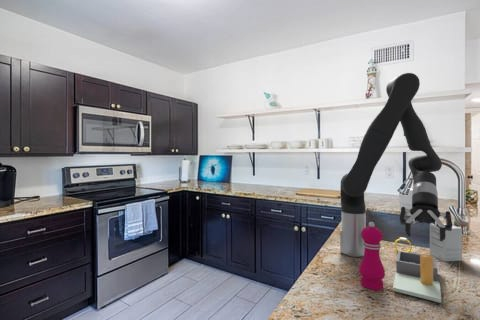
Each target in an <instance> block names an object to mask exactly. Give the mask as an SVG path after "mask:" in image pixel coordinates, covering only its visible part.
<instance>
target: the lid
mask: <svg viewBox="0 0 480 320" xmlns="http://www.w3.org/2000/svg"><path fill="white" fill-rule="evenodd" d="M420 254H421V253H420ZM433 257H434V256H432V255H430V254H426V253H425V254H424V253H422V254H421V255H420V278H418V277H414V276H409V275H405V274H400V273H396V272H395V276H394V280H393V283H392V285H393V286H392V291H393V292H397V293H400V294H405V295H409V296H412V297H416V298H420V299H424V300H428V301H432V302H436V303H439V304H442V293H441V291H442V290H441V285H440V284H441V283H440V281H438V280H437V281H433Z"/></svg>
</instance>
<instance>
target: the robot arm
mask: <svg viewBox="0 0 480 320" xmlns="http://www.w3.org/2000/svg"><path fill="white" fill-rule="evenodd" d="M420 83H421V82H420V78H419V77H418V75H416V74H415V73H413V72H405V73H402V74H400V75H397V76H395V77H394V78H392V79H391V80H389V81H388V83H387V85H386V89H385V90H386V95H387V97H388V99H387V101H386V102H385V105H384V106H383V108H382V109H381V110H380V112H379V113H378V114H377V115H376V116H375V118H374V119H373V120H372V121H371V123H370V125H369V126H368V128H367V130H366V131H365V134H364V136H363V138H362V140H361V143H360V147H359V150H358V152H357V153H358V154H357V158H356V159H355V162H354V164H353V165H352V167H351V169H350V170H349V172H348V173H346V174H344V175H343V176H342V178H341V180H340V205H341V206H340V207H341V211H340V212H341V217H340V219H341V228H340V229H339V239H340V240H339V241H340V242H339V243H340V244H339V245H340V246H339V247H340V248H339V249H340V250H339V252H340V254H343V255H345V256H349V257H353V258H357V257H358V258H363V257H364V251H365V249H364V246H363V241H364V240H363V239H362V237H361V232H362V230H363V228H365V227H367V225H366V224H367V219H366V218H367V216H366V213H367V212H366V211H367V210H366V209H367V208H366V207H367V206H366V201H365V192H366V190H367V188H368V186H369V183H370V180H371V177H372V175H373V173H374V170H375V169H376V166H377V165H378V163H379V161H380V159H381V158H382V156H383V155H384V154H385V153H384V152H386V149H387V148H388V145H389V144H390V142H391V140H392V138H393V136H394V133H395V132H396V130H397V128H398V126H399V123H400V124H401V127H402V130H403V134H404V138H405V140H406V143H407V147H408V149H409V150H410V151H413V152H423V153H424V154H423V155H422V154H421V155H417V156H413V157H411V158H410V159H409V160H408V162H407V163H408V167H409V169H410V173H411V175H412V181H413V182H412V189H413V190H412V208H411V209H405V207H401V210H400V213H399V214H400V215H399V224H400V225H403V226H405V229H404V230H405V232H404V233H405V235H407V237H411V226H412V225H414V224H416V223H417V222H418V223H422V224H423V223H424V224H429V225H430V224H434V225H435V226H436V227H437V228H438V229H439V235H440V241H443V240H445V237H446V235H445V231H447V230H448V231H451V230H452V225H453V221H452V214H451V212H450V211H448V210H446V211H445V212H441V211H439V210H440V209H439V199H438V198H439V197H438V194H439V193H438V189H437V177H436V175H435V174H434V173H432V172H439V171H440V170H441V169H442V167H443V165H442V164H443V162H442V160H441V158H440V157H439V155H438V154H437V153H436V151H435V150H434V148H433V147H432V144H431V143H430V140H429V136H428V132H427V130H426V127H425V125H424V123H423V121H422V120H421V119H420V117H419V115H418V114H417V112H416V111H415V109H414V107H413V104H412V101H413V99H414V97H415V96H416V95H417V93H418V91H419V89H420V85H421V84H420ZM408 214H410V216H409V217H408V218H407V219H406V218H405V217H406V216H407V215H408ZM440 217H442V219H443V220H445V223H446V225H444V224H443V222H442V221H441V219H440Z"/></svg>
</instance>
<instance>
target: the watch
mask: <svg viewBox="0 0 480 320" xmlns="http://www.w3.org/2000/svg"><path fill="white" fill-rule="evenodd" d="M399 241H403V242H408V244H409V246H410V247H409V249H408V250H407V251H406V250H403V251H404V252H410V253H411V252H412V248H413V247H412V243H411V242H410V240H408V238H406V237H401V236H400V237H399V238H398V239H396V240H395V241H394V248H395V250H396V251H397V252H398V251H400V250H399V248H397V245H396V244H397V243H398V242H399Z"/></svg>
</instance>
